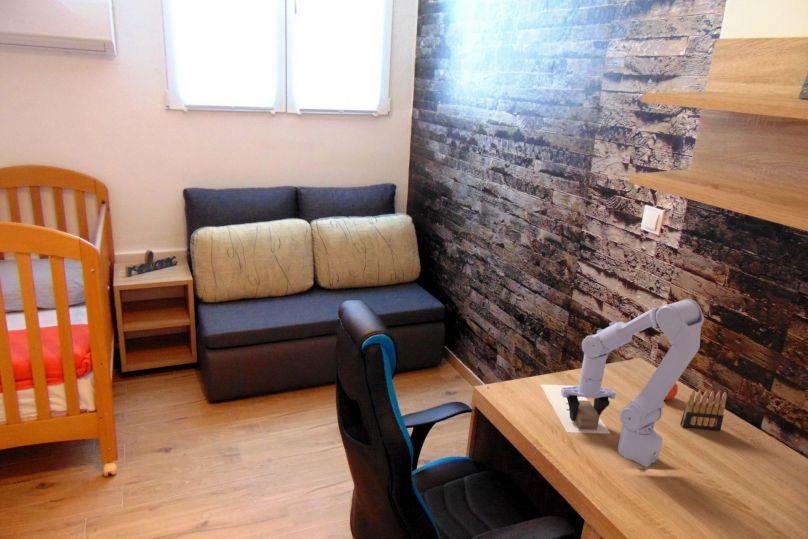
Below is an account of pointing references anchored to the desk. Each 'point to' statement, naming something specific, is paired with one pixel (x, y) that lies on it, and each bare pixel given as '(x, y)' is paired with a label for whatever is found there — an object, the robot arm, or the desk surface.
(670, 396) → the clementine
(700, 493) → the desk surface
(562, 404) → the plank
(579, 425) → the block
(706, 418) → the ammunition clip
